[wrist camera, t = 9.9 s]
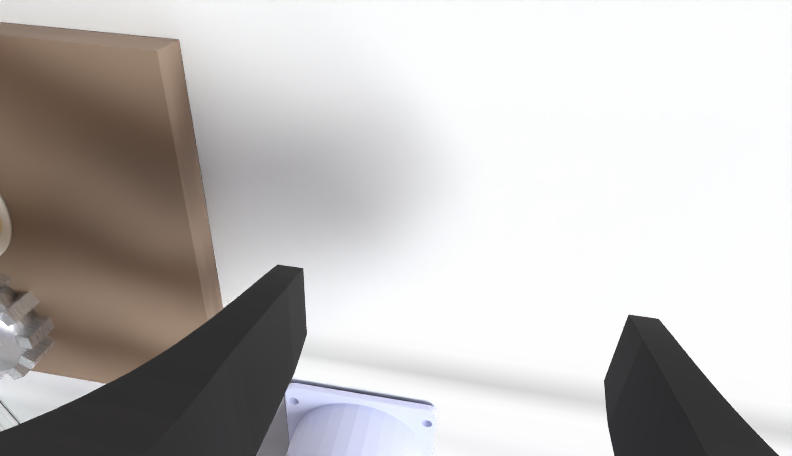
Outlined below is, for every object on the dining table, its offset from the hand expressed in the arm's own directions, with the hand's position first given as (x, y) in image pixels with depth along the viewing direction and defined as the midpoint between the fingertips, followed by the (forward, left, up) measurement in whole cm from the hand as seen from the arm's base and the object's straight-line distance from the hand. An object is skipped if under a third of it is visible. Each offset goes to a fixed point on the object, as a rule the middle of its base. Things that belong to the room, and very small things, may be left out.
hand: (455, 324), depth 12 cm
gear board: (-6, +19, -9) cm, 22 cm away
